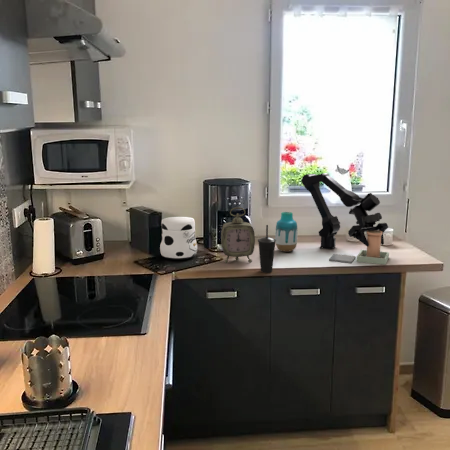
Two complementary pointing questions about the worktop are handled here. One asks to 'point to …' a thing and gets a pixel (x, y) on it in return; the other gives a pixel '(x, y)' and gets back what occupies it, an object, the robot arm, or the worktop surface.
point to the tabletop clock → (237, 238)
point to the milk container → (178, 238)
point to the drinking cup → (266, 252)
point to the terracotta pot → (373, 243)
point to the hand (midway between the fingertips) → (375, 245)
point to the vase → (286, 232)
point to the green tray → (373, 258)
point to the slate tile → (342, 258)
